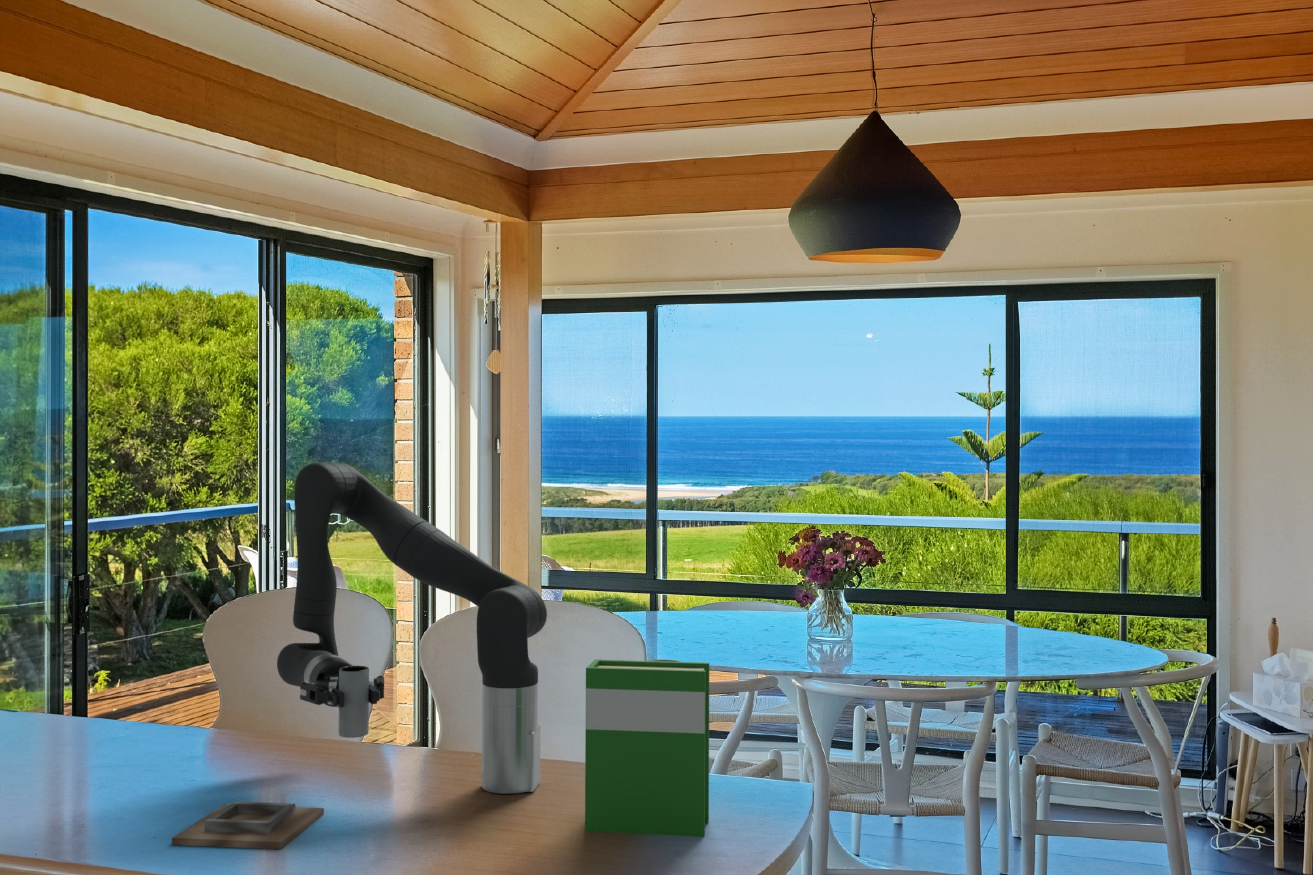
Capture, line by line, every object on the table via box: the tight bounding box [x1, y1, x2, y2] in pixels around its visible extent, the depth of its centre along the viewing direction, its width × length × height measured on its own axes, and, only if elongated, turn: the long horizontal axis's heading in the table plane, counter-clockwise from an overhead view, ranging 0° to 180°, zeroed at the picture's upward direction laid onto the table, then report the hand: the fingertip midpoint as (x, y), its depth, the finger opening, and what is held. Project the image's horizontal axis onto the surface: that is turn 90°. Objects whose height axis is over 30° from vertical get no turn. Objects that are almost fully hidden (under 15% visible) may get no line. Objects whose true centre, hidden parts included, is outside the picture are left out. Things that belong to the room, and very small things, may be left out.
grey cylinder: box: [338, 665, 370, 739], centre depth 185 cm, size 4×4×10 cm
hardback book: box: [584, 659, 710, 838], centre depth 177 cm, size 18×7×24 cm, turn 83°
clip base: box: [171, 801, 325, 850], centre depth 175 cm, size 16×16×2 cm
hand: (358, 698), depth 182 cm, fingers closed on grey cylinder, 4 cm apart
